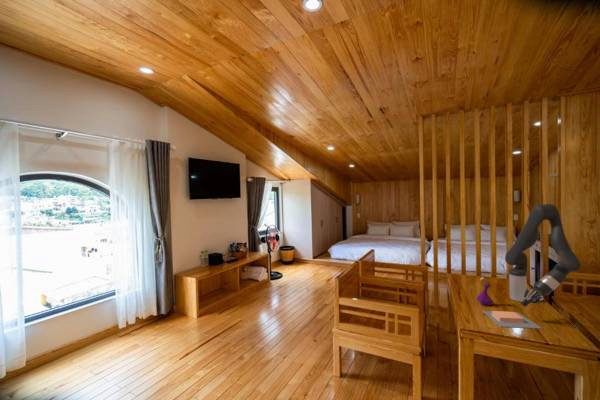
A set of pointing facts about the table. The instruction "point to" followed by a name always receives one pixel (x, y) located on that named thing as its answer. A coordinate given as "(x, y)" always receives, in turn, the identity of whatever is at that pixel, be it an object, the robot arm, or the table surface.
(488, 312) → the mat
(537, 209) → the robot arm
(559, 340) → the table surface
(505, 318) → the tile
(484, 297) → the perfume bottle
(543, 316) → the table surface
